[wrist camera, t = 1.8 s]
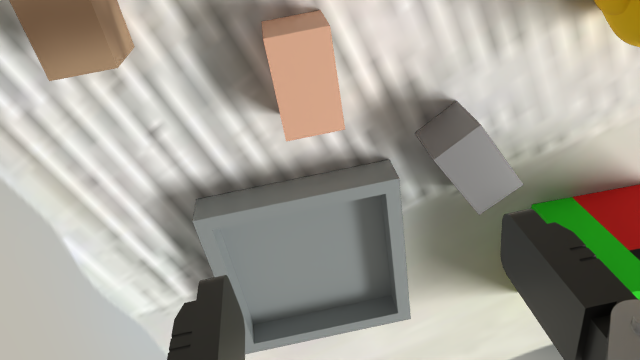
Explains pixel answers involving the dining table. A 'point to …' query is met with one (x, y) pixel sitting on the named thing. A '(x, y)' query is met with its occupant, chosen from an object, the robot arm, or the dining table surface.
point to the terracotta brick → (304, 74)
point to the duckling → (623, 18)
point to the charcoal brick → (468, 157)
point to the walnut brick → (75, 35)
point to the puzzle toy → (604, 228)
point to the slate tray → (310, 254)
